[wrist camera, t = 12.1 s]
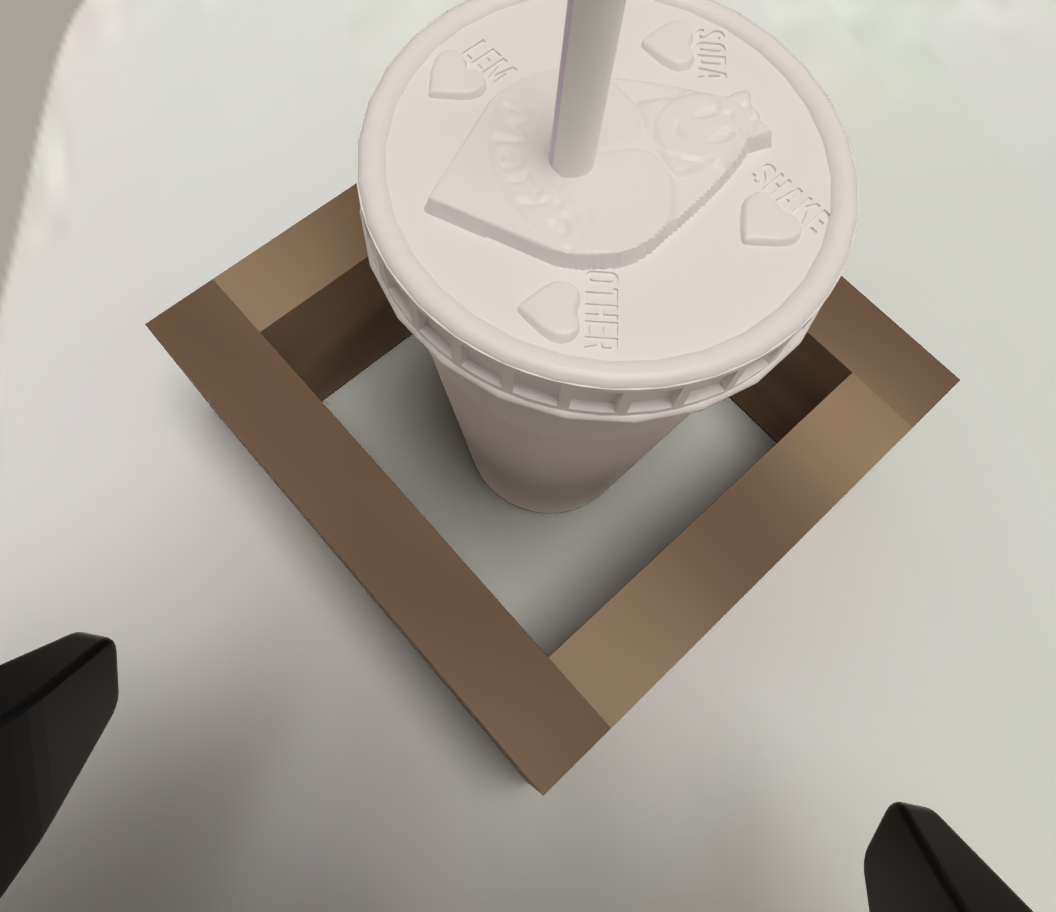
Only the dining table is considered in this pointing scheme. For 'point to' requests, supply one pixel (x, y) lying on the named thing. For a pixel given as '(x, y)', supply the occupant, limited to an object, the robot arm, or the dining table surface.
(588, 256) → the smoothie
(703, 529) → the socket block
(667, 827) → the dining table surface
